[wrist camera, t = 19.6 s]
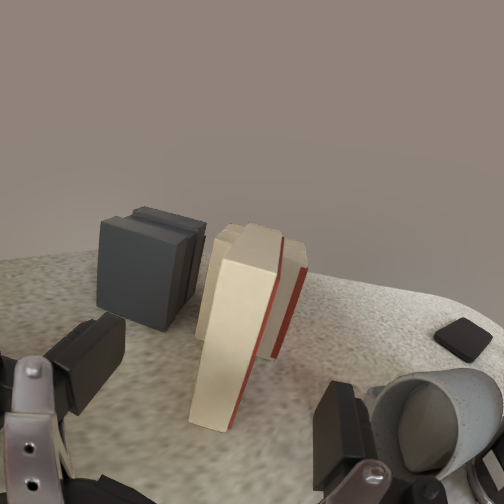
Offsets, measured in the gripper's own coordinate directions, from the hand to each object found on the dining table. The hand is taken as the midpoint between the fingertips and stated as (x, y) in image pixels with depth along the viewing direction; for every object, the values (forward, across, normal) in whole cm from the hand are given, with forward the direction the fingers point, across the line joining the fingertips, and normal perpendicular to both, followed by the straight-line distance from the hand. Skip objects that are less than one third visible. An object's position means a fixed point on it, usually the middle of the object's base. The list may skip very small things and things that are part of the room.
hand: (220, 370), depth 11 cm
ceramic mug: (+5, -14, +8) cm, 17 cm away
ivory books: (+16, 0, +8) cm, 18 cm away
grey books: (+16, +10, +8) cm, 20 cm away
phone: (+26, -33, +8) cm, 43 cm away
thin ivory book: (+7, 0, +8) cm, 11 cm away
